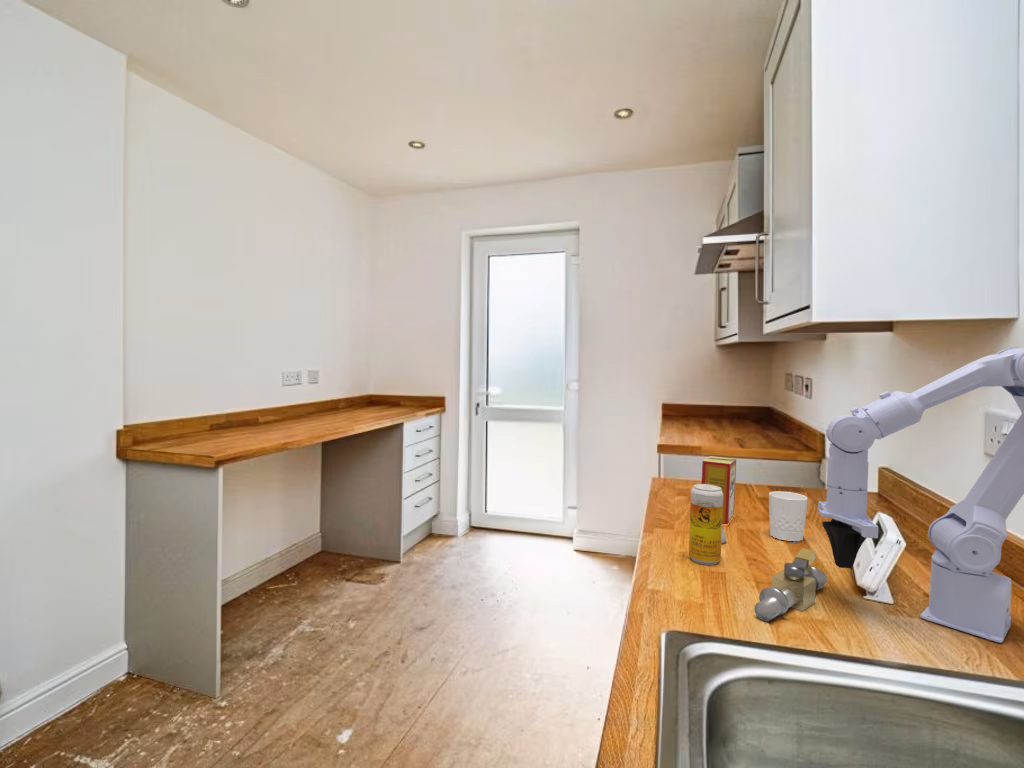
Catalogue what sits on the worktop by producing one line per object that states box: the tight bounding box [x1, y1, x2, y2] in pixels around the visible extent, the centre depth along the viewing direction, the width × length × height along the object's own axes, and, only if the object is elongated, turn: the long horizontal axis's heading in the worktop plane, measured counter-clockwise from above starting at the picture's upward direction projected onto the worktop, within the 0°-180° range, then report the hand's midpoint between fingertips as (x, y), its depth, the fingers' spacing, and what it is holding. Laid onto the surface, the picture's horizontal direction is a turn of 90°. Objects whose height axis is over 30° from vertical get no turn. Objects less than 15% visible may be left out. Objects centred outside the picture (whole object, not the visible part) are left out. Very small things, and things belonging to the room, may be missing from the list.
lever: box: [783, 547, 816, 580], centre depth 90 cm, size 14×3×2 cm, turn 140°
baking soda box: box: [701, 455, 737, 524], centre depth 132 cm, size 10×6×16 cm
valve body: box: [754, 565, 828, 622], centre depth 86 cm, size 5×22×4 cm, turn 130°
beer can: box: [688, 483, 723, 566], centre depth 104 cm, size 6×6×15 cm
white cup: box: [768, 490, 808, 541], centre depth 119 cm, size 8×8×10 cm
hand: (843, 566), depth 87 cm, fingers closed
